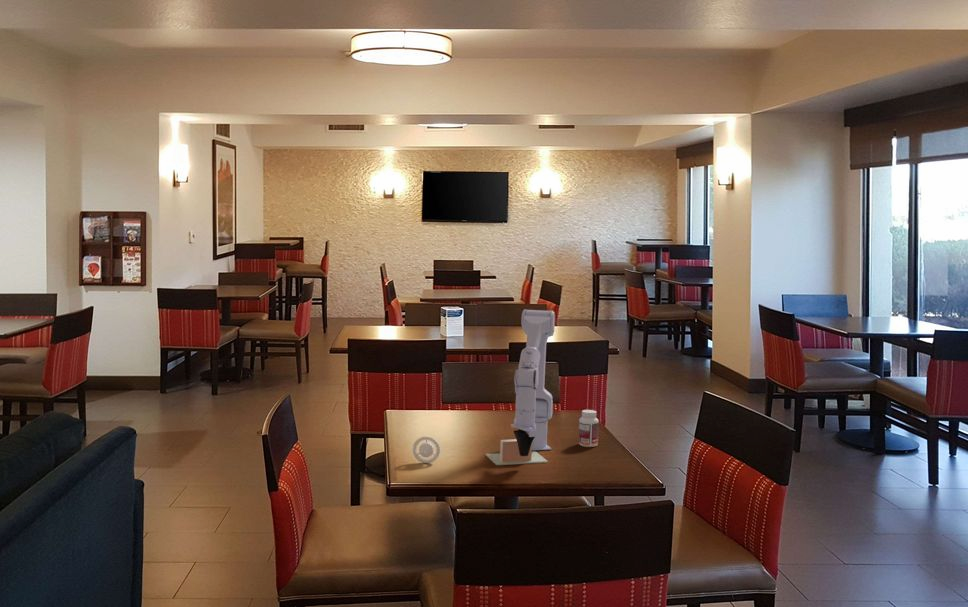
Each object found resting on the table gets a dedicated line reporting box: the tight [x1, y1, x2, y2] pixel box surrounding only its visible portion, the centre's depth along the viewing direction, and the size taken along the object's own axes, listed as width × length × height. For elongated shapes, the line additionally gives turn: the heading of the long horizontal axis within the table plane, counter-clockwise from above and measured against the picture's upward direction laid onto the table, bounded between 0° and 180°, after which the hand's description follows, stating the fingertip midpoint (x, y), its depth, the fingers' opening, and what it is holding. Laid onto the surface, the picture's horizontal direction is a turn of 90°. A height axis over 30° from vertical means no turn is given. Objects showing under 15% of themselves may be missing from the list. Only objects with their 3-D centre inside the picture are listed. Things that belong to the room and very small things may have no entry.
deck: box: [499, 438, 533, 462], centre depth 266 cm, size 2×9×6 cm, turn 106°
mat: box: [485, 451, 549, 466], centre depth 270 cm, size 11×16×1 cm
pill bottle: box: [578, 409, 600, 448], centre depth 288 cm, size 6×6×11 cm
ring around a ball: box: [412, 436, 441, 464], centre depth 261 cm, size 8×6×8 cm
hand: (523, 455), depth 260 cm, fingers closed
